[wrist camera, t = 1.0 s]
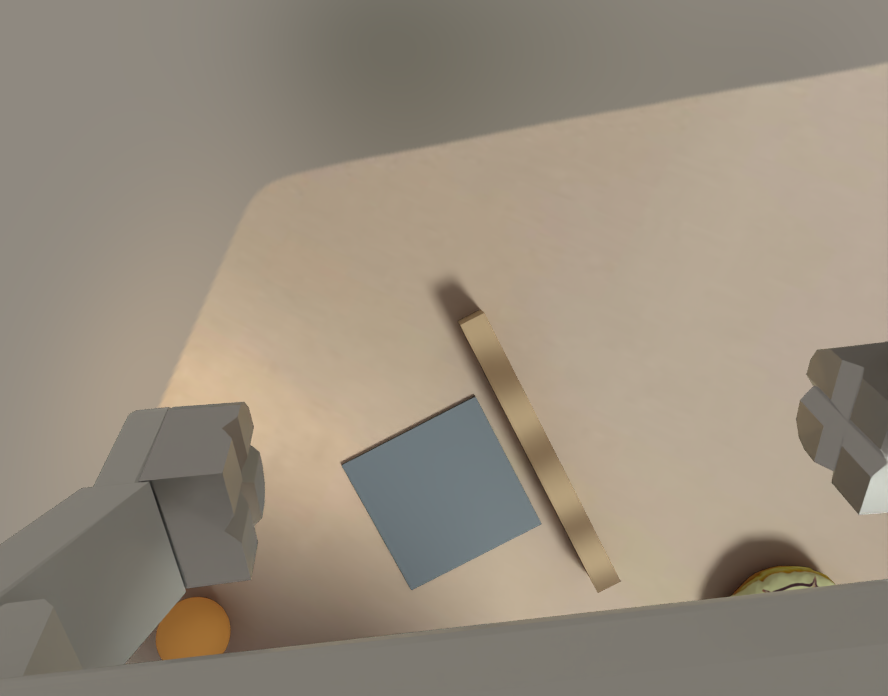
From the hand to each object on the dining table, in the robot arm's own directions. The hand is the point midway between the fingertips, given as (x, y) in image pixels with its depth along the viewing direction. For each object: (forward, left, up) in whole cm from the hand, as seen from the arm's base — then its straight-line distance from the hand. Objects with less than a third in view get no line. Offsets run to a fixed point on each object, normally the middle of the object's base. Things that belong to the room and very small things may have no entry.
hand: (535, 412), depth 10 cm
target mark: (-16, +7, -46) cm, 49 cm away
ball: (-16, +29, -43) cm, 54 cm away
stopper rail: (-16, -1, -46) cm, 48 cm away
